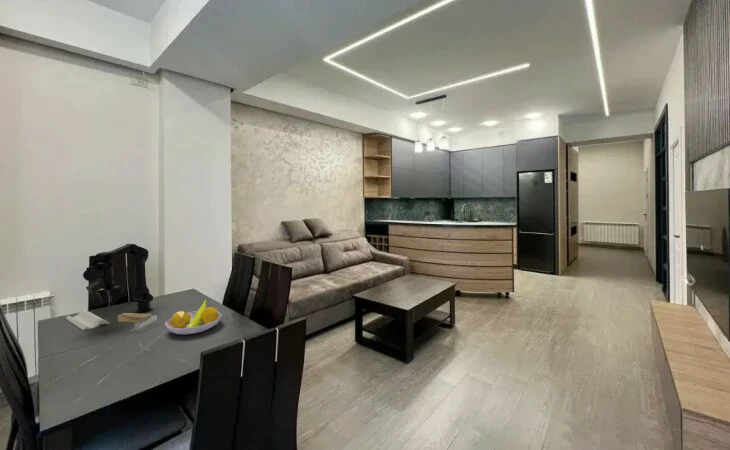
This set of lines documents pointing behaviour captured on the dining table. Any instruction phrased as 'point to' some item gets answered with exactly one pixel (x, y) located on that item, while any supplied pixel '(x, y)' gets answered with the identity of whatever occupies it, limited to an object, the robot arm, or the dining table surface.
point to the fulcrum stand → (145, 324)
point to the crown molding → (86, 320)
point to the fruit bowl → (193, 320)
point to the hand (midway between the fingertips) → (108, 303)
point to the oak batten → (132, 317)
